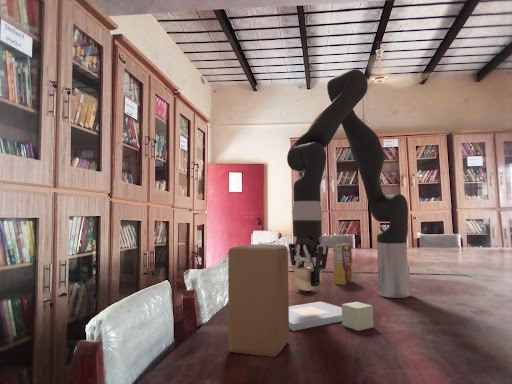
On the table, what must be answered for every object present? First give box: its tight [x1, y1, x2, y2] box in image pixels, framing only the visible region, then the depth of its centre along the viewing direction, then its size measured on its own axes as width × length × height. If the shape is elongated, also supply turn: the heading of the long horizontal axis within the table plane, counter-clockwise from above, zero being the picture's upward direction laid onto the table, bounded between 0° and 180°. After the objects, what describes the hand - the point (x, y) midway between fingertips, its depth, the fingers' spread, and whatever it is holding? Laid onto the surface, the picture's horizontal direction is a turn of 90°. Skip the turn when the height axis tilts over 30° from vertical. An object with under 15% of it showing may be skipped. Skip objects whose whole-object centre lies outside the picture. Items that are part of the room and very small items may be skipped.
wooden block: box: [227, 243, 290, 358], centre depth 73 cm, size 10×10×20 cm
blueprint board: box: [289, 301, 342, 332], centre depth 93 cm, size 20×14×2 cm
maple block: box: [293, 266, 323, 292], centre depth 94 cm, size 5×5×5 cm
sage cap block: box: [341, 301, 374, 332], centre depth 86 cm, size 5×5×5 cm
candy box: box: [332, 242, 354, 286], centre depth 143 cm, size 9×4×15 cm, turn 141°
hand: (308, 284), depth 94 cm, fingers closed on maple block, 5 cm apart
